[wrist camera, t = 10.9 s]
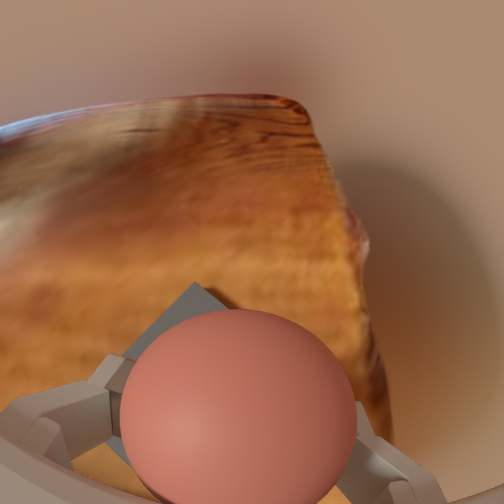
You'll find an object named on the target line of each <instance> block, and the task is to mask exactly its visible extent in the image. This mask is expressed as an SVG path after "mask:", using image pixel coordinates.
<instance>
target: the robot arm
mask: <svg viewBox="0 0 504 504" xmlns="http://www.w3.org/2000/svg"><path fill="white" fill-rule="evenodd" d="M136 362H137V361H136V360H133V359H130V358H126V357H123V356H120V355H117V354H114V353H111V354H109V355H108V356H107V357H106V358H105V360H104V361H103V362H102V363H101V364H100V366H99V367H98V368H97V369H96V371H95V372H94V373H93V374H92V376H91V377H90V378H89V379H88V381H87V382H86V381H83V380H81V381H78V382H74V383H71V384H67V385H64V386H60V387H57V388H53V389H49V390H46V391H42V392H38V393H34V394H30V395H27V396H23V397H19V398H15V399H14V400H13V401H12V402H11V403H10V404H9V405H8V406H7V407H6V408H5V409H4V410H3V411H2V412H1V413H0V504H163V503H159V502H156V501H152V500H149V499H145V498H142V497H139V496H136V495H133V494H130V493H127V492H124V491H121V490H118V489H115V488H113V487H110V486H107V485H105V484H102V483H100V482H97V481H95V480H92V479H90V478H88V477H85V476H83V475H81V474H78V473H76V472H74V471H73V468H72V465H71V462H70V461H71V460H72V459H74V458H76V457H78V456H80V455H82V454H84V453H86V452H87V451H89V450H91V449H93V448H95V447H96V446H98V445H100V444H102V443H103V442H105V441H107V440H109V439H110V438H112V437H113V436H116V437H119V438H122V436H121V430H120V406H121V399H122V394H123V391H124V387H125V384H126V381H127V379H128V377H129V374H130V372H131V370H132V368H133V367H134V365H135V363H136ZM356 408H357V433H356V439H355V445H354V448H353V451H352V454H351V457H350V460H349V462H348V464H347V466H346V468H345V470H344V472H343V474H342V475H341V477H340V478H339V480H338V481H337V483H336V484H335V485H336V486H337V487H338V488H339V489H340V490H341V492H342V493H343V494H344V495H345V496H346V497H347V499H348V500H349V501H350V502H351V503H352V504H504V484H502V485H499V486H497V487H494V488H492V489H489V490H486V491H484V492H481V493H478V494H476V495H472V496H469V497H466V498H463V499H460V500H457V501H454V502H450V503H447V501H446V499H445V497H444V495H443V493H442V491H441V488H440V486H439V484H438V483H437V480H436V478H435V476H434V475H433V474H432V473H430V472H429V471H428V470H426V469H424V468H423V467H422V466H420V465H419V464H417V463H416V462H415V461H413V460H412V459H410V458H409V457H408V456H406V455H405V454H403V453H402V452H401V451H399V450H398V449H397V448H395V447H394V446H392V445H391V444H390V443H388V442H387V441H386V440H384V439H383V438H382V437H380V436H375V434H374V431H373V429H372V427H371V424H370V422H369V419H368V417H367V414H366V412H365V410H364V407H363V405H362V403H361V402H360V401H356Z"/></svg>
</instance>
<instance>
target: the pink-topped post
mask: <svg viewBox="0 0 504 504" xmlns="http://www.w3.org/2000/svg"><path fill="white" fill-rule="evenodd" d="M120 430H121V436H122V442H123V445H124V448H125V452H126V455H127V457H128V459H129V461H130V463H131V466H132V468H133V470H134V471H135V473H136V474H137V476H138V477H139V479H140V480H141V482H142V483H143V484H144V485H145V486H146V488H147V489H148V490H149V491H150V492H151V493H152V494H153V495H154V496H155V497H156V498H157V499H159V500H160V501H161V502H162V503H163V504H316V503H318V502H319V501H320V500H321V499H322V498H323V497H324V496H325V495H326V494H327V493H328V492H329V491H330V490H331V489H332V488H333V486H334V485H335V484H336V483H337V481H338V480H339V478H340V477H341V475H342V474H343V472H344V470H345V468H346V466H347V464H348V462H349V460H350V457H351V454H352V451H353V448H354V445H355V439H356V433H357V408H356V401H355V397H354V393H353V389H352V386H351V384H350V381H349V379H348V376H347V374H346V373H345V371H344V369H343V367H342V365H341V364H340V362H339V361H338V359H337V358H336V357H335V355H334V354H333V353H332V352H331V350H330V349H329V348H328V347H327V346H326V345H325V344H324V343H323V342H322V341H321V340H319V339H318V338H317V337H316V336H315V335H313V334H312V333H311V332H309V331H308V330H306V329H305V328H303V327H302V326H300V325H298V324H296V323H294V322H292V321H290V320H288V319H285V318H283V317H280V316H277V315H274V314H270V313H266V312H262V311H256V310H247V309H228V310H220V311H213V312H209V313H205V314H201V315H198V316H195V317H193V318H190V319H187V320H185V321H183V322H181V323H179V324H177V325H175V326H173V327H172V328H170V329H169V330H167V331H166V332H164V333H163V334H162V335H160V336H159V337H158V338H157V339H156V340H155V341H154V342H152V343H151V344H150V345H149V346H148V347H147V349H146V350H145V351H144V352H143V353H142V355H141V356H140V357H139V359H138V360H137V362H136V363H135V365H134V367H133V368H132V370H131V372H130V374H129V377H128V379H127V381H126V384H125V387H124V391H123V394H122V399H121V406H120Z"/></svg>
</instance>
